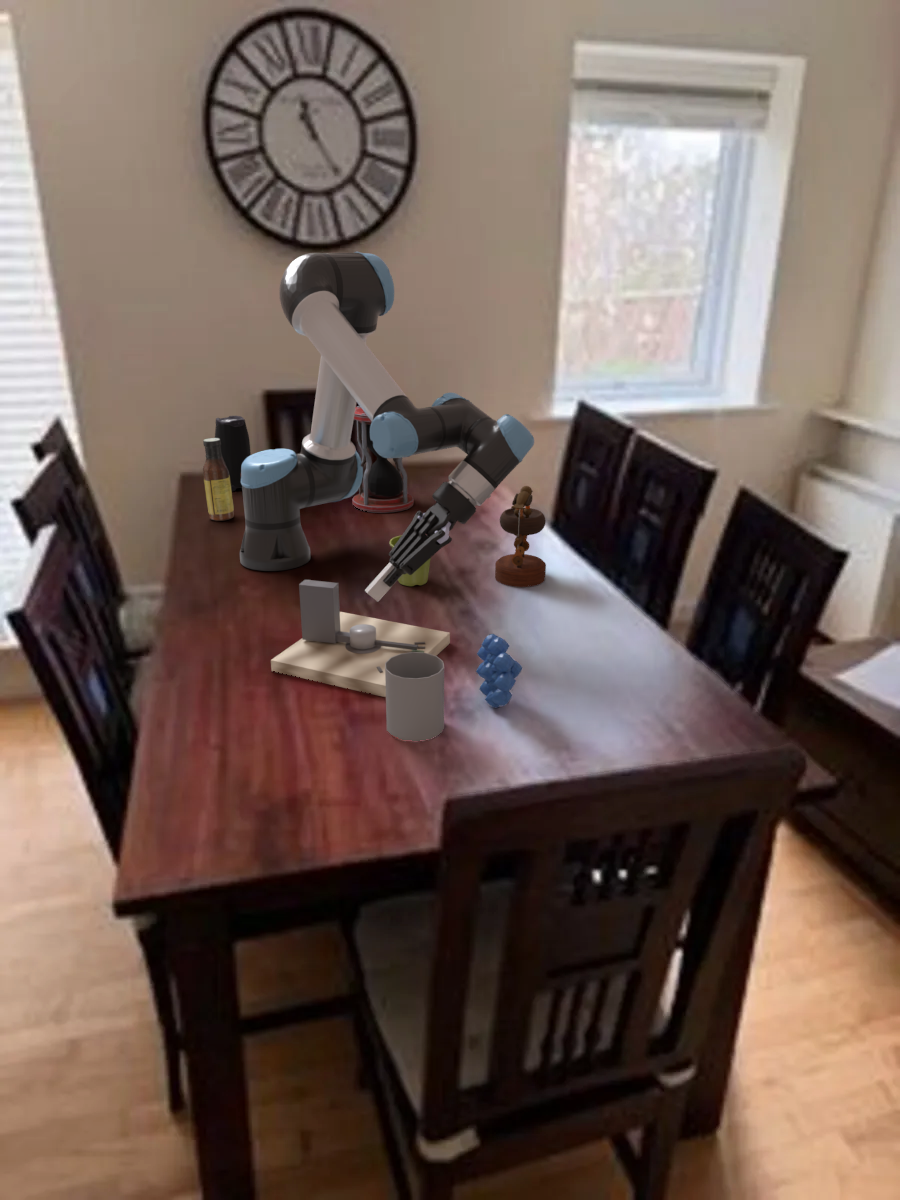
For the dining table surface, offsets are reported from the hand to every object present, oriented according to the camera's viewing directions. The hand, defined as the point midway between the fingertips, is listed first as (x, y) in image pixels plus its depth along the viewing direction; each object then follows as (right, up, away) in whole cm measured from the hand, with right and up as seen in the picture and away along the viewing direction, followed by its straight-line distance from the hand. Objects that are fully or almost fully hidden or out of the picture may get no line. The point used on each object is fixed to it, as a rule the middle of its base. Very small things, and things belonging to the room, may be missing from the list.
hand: (371, 596), depth 152 cm
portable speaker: (-46, +31, +95) cm, 110 cm away
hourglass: (-4, +24, +81) cm, 84 cm away
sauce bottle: (-44, +20, +69) cm, 84 cm away
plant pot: (+6, +3, +29) cm, 30 cm away
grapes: (+21, -17, -19) cm, 33 cm away
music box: (+28, +4, +32) cm, 43 cm away
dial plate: (-1, -10, -4) cm, 11 cm away
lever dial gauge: (-1, -8, -5) cm, 9 cm away
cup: (+9, -19, -25) cm, 32 cm away
